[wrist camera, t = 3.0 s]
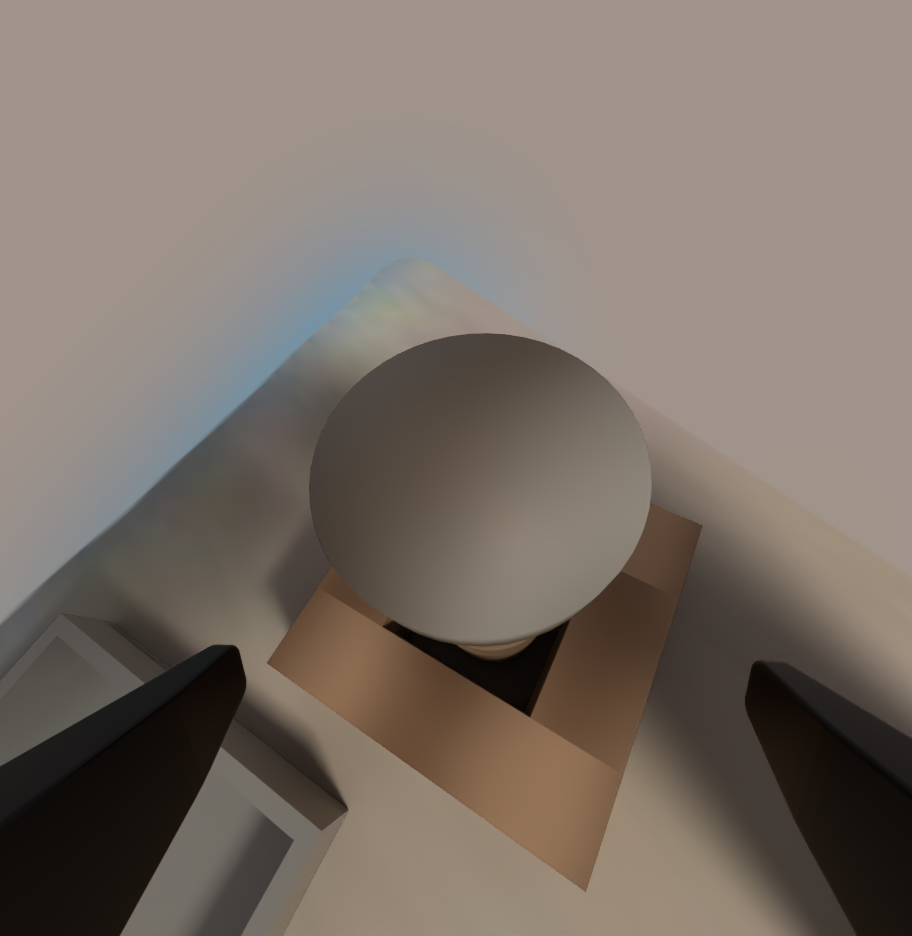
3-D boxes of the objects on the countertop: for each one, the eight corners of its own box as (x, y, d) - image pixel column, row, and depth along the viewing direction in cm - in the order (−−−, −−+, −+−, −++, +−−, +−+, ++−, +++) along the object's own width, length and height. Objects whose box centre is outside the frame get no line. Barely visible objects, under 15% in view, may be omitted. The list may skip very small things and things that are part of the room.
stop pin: (569, 585, 18) (695, 392, 6) (520, 699, 16) (569, 726, 4) (468, 534, 19) (418, 302, 8) (413, 634, 17) (240, 527, 6)
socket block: (667, 553, 18) (702, 525, 15) (566, 846, 14) (585, 891, 11) (443, 454, 21) (433, 414, 18) (309, 667, 17) (266, 663, 14)
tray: (348, 810, 15) (321, 831, 13) (28, 1418, 10) (-106, 1623, 8) (112, 621, 19) (60, 613, 17) (-200, 993, 14) (-331, 1050, 12)
